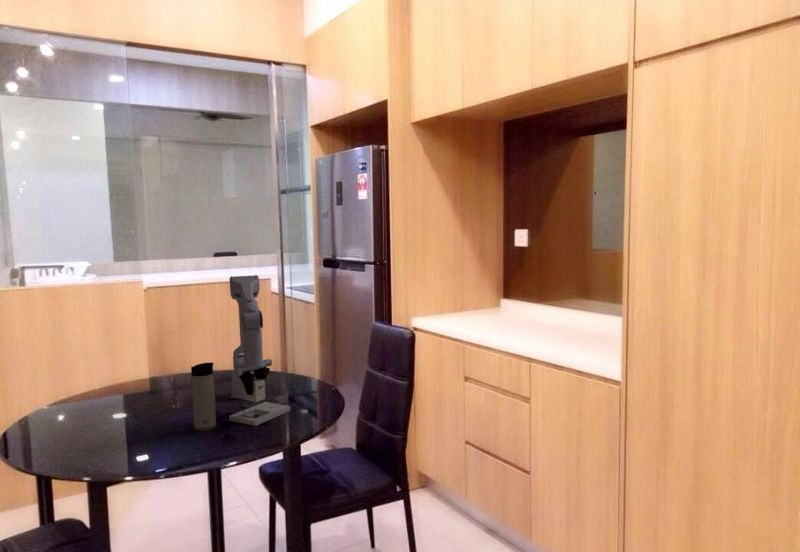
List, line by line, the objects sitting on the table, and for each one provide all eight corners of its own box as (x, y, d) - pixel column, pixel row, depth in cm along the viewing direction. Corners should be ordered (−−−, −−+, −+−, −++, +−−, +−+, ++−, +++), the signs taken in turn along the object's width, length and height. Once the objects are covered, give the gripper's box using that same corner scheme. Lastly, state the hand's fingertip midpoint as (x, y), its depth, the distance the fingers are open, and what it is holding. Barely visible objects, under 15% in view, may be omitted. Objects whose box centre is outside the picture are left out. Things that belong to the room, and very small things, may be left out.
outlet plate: (229, 420, 175) (229, 415, 175) (265, 406, 189) (265, 401, 189) (255, 425, 170) (255, 420, 169) (290, 410, 183) (290, 405, 183)
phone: (243, 407, 189) (242, 403, 189) (268, 397, 199) (267, 394, 199) (255, 409, 186) (254, 406, 186) (279, 399, 196) (279, 396, 196)
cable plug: (265, 412, 185) (265, 405, 185) (260, 411, 186) (259, 404, 186) (286, 403, 194) (286, 396, 194) (281, 402, 195) (281, 395, 195)
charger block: (246, 400, 175) (246, 381, 174) (256, 396, 178) (255, 378, 178) (256, 402, 173) (255, 383, 172) (265, 398, 176) (265, 380, 176)
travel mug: (210, 432, 165) (206, 365, 164) (190, 431, 167) (186, 365, 165) (221, 424, 171) (217, 360, 170) (201, 423, 173) (198, 360, 171)
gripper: (245, 356, 166) (247, 400, 167) (278, 346, 179) (280, 388, 180) (228, 354, 170) (230, 397, 171) (262, 345, 182) (264, 385, 183)
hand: (255, 392), depth 176 cm, fingers closed on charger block, 4 cm apart
